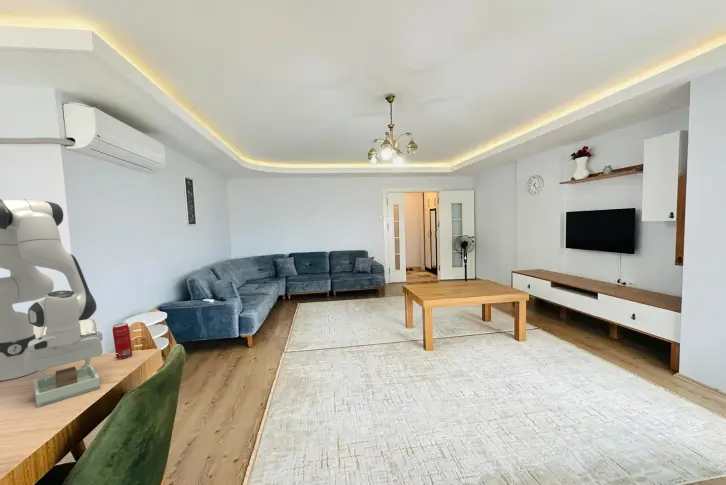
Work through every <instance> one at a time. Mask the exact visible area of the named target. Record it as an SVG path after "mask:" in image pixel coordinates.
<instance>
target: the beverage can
mask: <svg viewBox="0 0 726 485" xmlns="http://www.w3.org/2000/svg"><path fill="white" fill-rule="evenodd" d="M130 334H131V333H130V327H129V324H128V322H121V323H117V324H114V325H113V326H112V336H113V344H114V351H115V358H116V359H117V360H123V359H122V358H125V359H127V358H126V357H128V358H130V357H131V356H132V355H133V350H132V349H133V348H132V342H131V335H130ZM116 353H118V354H116ZM129 356H130V357H129Z"/></svg>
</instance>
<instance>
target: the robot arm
mask: <svg viewBox="0 0 726 485" xmlns="http://www.w3.org/2000/svg"><path fill="white" fill-rule="evenodd" d="M63 221H64V209H63V208H62V207H61V206H60V205H59V204H58V203H55V202H51V201H41V200H35V199H33V200H32V199H1V198H0V269H5V270H8V271H9V273H10V276H5V277H0V381H7V380H8V381H9V380H12V379H17V378H22V377H23V376H27V375H28V376H29V375H31V374H33V373H36V372H39V375H41V377H43V378H44V380H45V382H47V381H51V376H52V375H51V374H46V370H47V369H51V368H55V367H59V366H63V365H68V364H71V363H77V362H80V361H84V362H85V363H84V365H82V366H80V369H81V372H85V371H87V367H89V366H90V365H89V364H90V363H91V359H93V358H97V357H100V356H101V355H102V354H103V352H104V350H103V345H102V341H103V333H101V332H100V331H97V330H95V331H91V332H84V333H82V332H81V330H82V329H81V328H82V327H81V323H80V321H86V320H87V321H88V320H89V318H91V317H92V316H93V315H94V314H95V312H96V311H97V303H96V300H95V298H94V297H93V295H92V293H91V291H90V289H89V286H88V284H87V281H86V278H85V276H84V274H83V270H82V268H81V266H80V264H79V261H78V260H77V258H76V257H75V256H74V255H73V254H71V253H69V252H67V250H66V249H65V248H64V246H63V244H62V239H61V234H60V231H59V228H58V226H60V224H62V222H63ZM37 267H38V268H43V269H49V270H50V269H51V270H55V271H57V272H60V273H61V274H63V275H64V276H65V277H66V280H67V282H68V285H69V287H70V290H65V289H64V290H63V289H62V290H55V291H53V290H54V288H55V287H54V286H55V285H54V281H53V279H52V278H51V277H50V276H48V275H46V274H44V273H42V272H41V271H40V270H39V269H38V268H37ZM40 299H42V300H40ZM37 300H39V301H37ZM33 301H35V302H34V303H33V304H31V305H30V307H28V310H27V313H26V312H22V311H17V310H15V309H14V308H13V305H15V304H23V303H26V302H33ZM34 327H37V328H46V329H45V334H44V335H42V336H39V337H36V334H35V332H34Z"/></svg>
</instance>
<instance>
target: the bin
mask: <svg viewBox="0 0 726 485" xmlns="http://www.w3.org/2000/svg"><path fill="white" fill-rule="evenodd" d="M76 370H77V383H75V384H71V385H68V386H64V387H61V388H57V384H56V374H55V375H50V376H51V381H47V382H45V380H44V377H43V378H39V379H34V380H33V385H34V387H33V388H34V389H33V390H34V396H35V405H36V408H40V407H43V406H46V405H50V404H54V403H56V402H59V401H62V400H66V399H70V398H73V397H76V396H79V395H82V394H85V393H90V392H92V391H96V390H100V389H101V384H100V383H101V382H100V376H99V375H98V373H97V371H96V369H95V368H94V366H93V365H88V366H87V371H85V372H81V368H76Z"/></svg>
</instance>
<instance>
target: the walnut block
mask: <svg viewBox="0 0 726 485" xmlns="http://www.w3.org/2000/svg"><path fill="white" fill-rule="evenodd" d="M55 375H56V384H57V388H61V387H64V386H68V385H71V384H75V383H77V368H76V366H71V367H67V368H62V369H59V370H55Z"/></svg>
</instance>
